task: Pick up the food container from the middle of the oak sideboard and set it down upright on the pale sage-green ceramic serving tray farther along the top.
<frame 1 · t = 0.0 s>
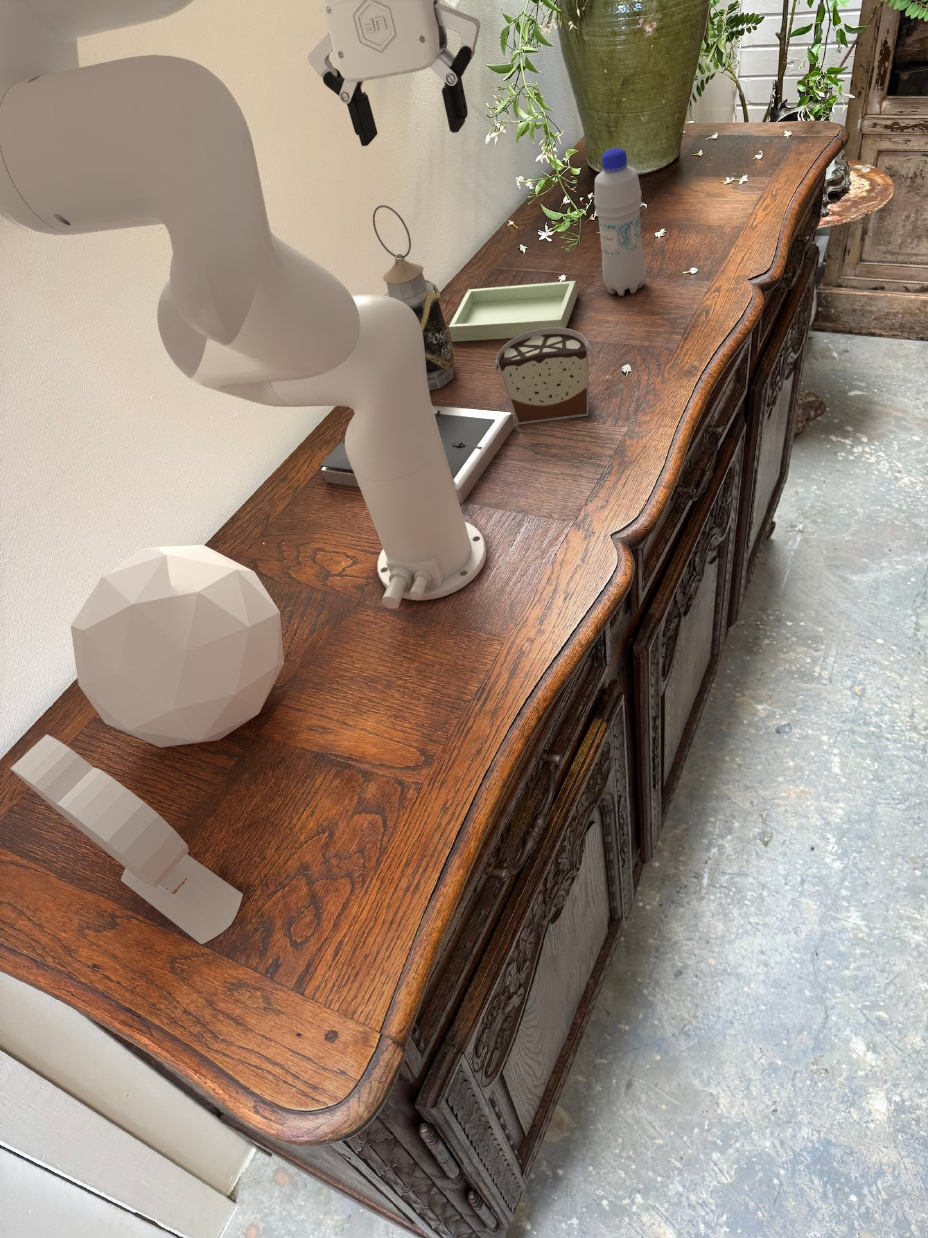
hand: (413, 134, 84), 37 cm above the sideboard, tool pointing down, fingers open, 9 cm apart
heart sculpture: (181, 888, 74), on the sideboard
tray: (515, 318, 130), on the sideboard
bottle: (625, 289, 129), on the sideboard
picture frame: (420, 455, 111), on the sideboard
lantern: (431, 380, 123), on the sideboard
ball: (223, 704, 88), on the sideboard
food container: (553, 407, 112), on the sideboard
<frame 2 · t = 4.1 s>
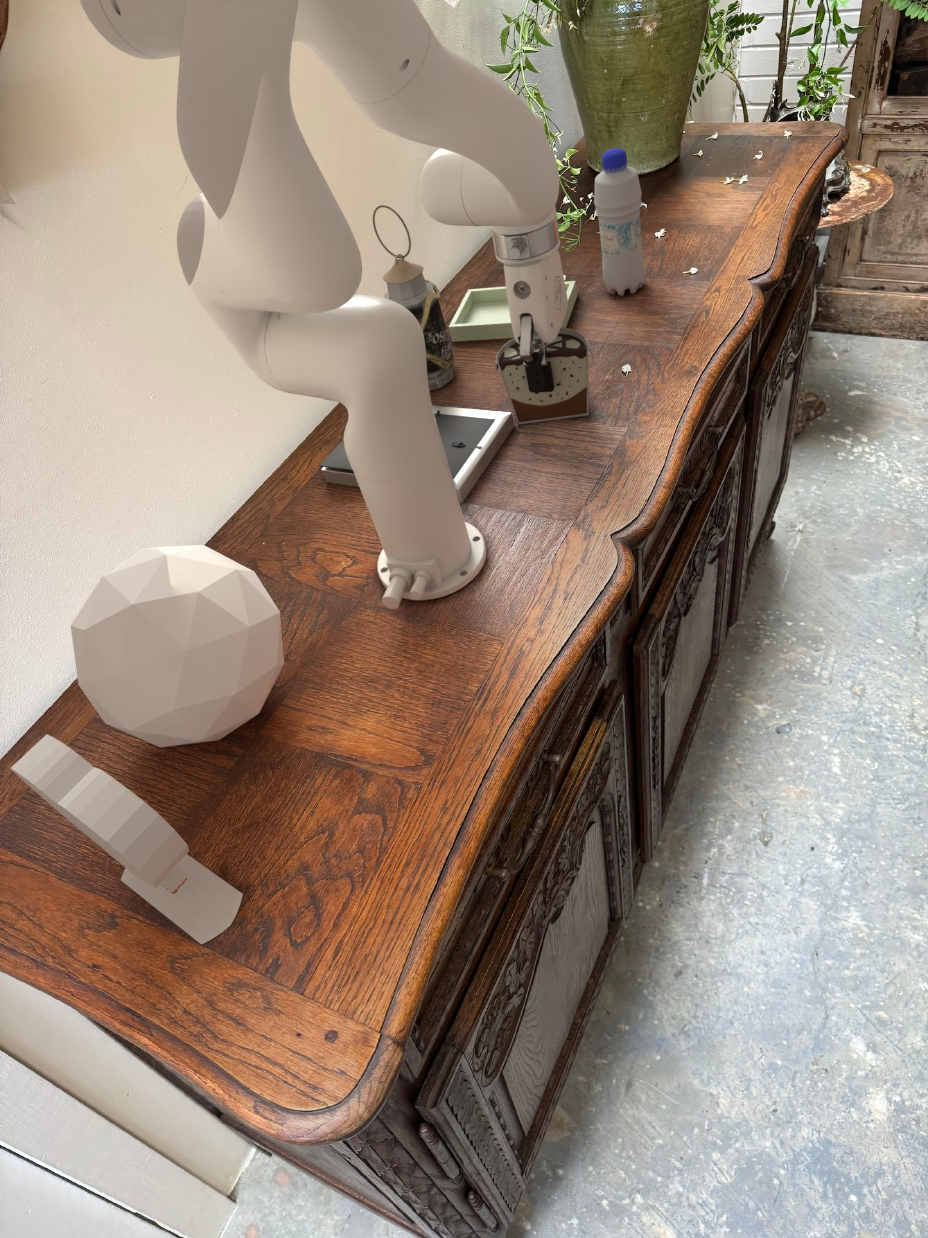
hand: (547, 373, 108), 5 cm above the sideboard, tool pointing down, fingers closed on food container, 6 cm apart
food container: (553, 407, 112), on the sideboard, touching gripper
everything else where it was.
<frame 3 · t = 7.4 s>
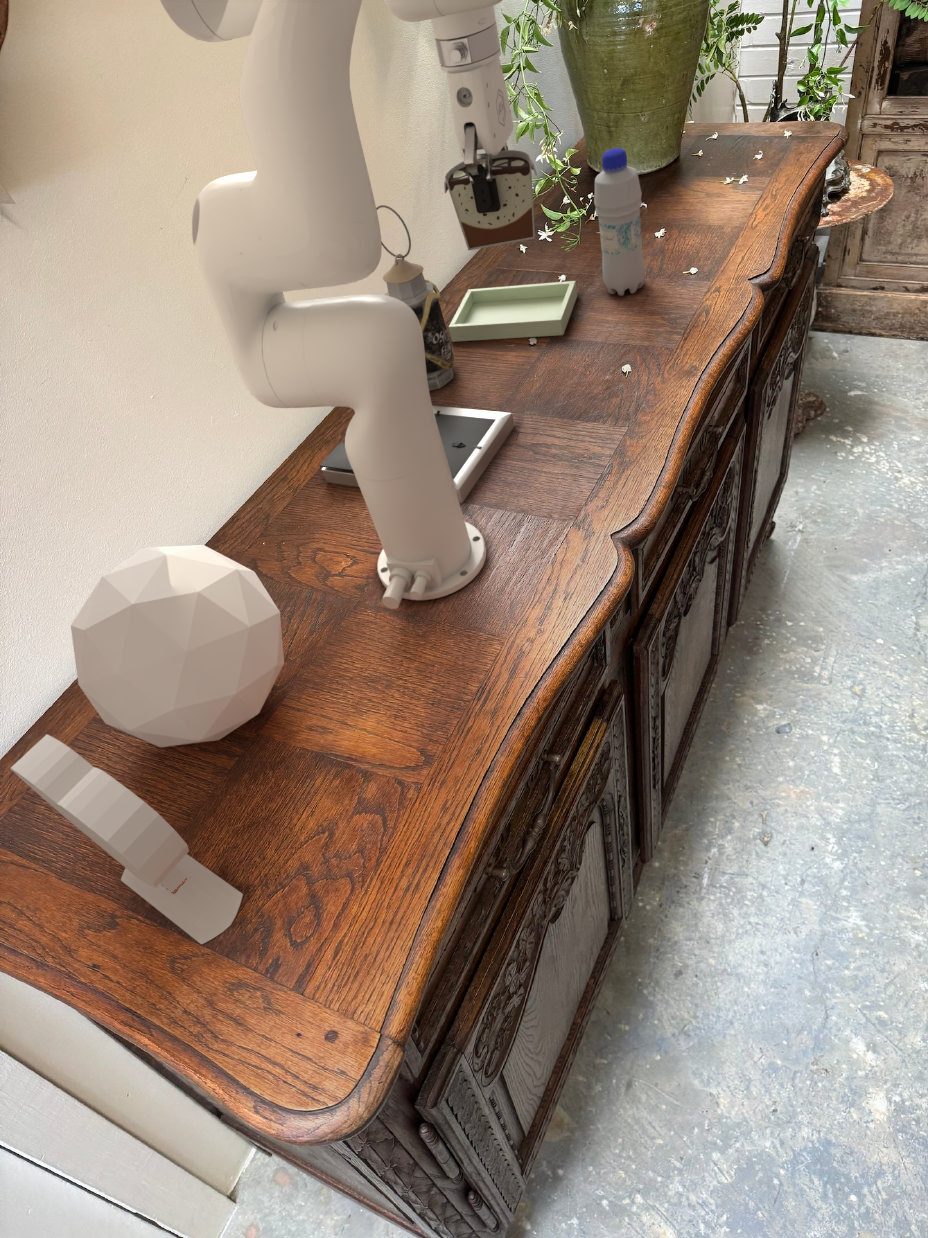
hand: (495, 198, 113), 19 cm above the sideboard, tool pointing down, fingers closed on food container, 6 cm apart
food container: (503, 236, 117), point 14 cm above the sideboard, touching gripper
everything else where it was.
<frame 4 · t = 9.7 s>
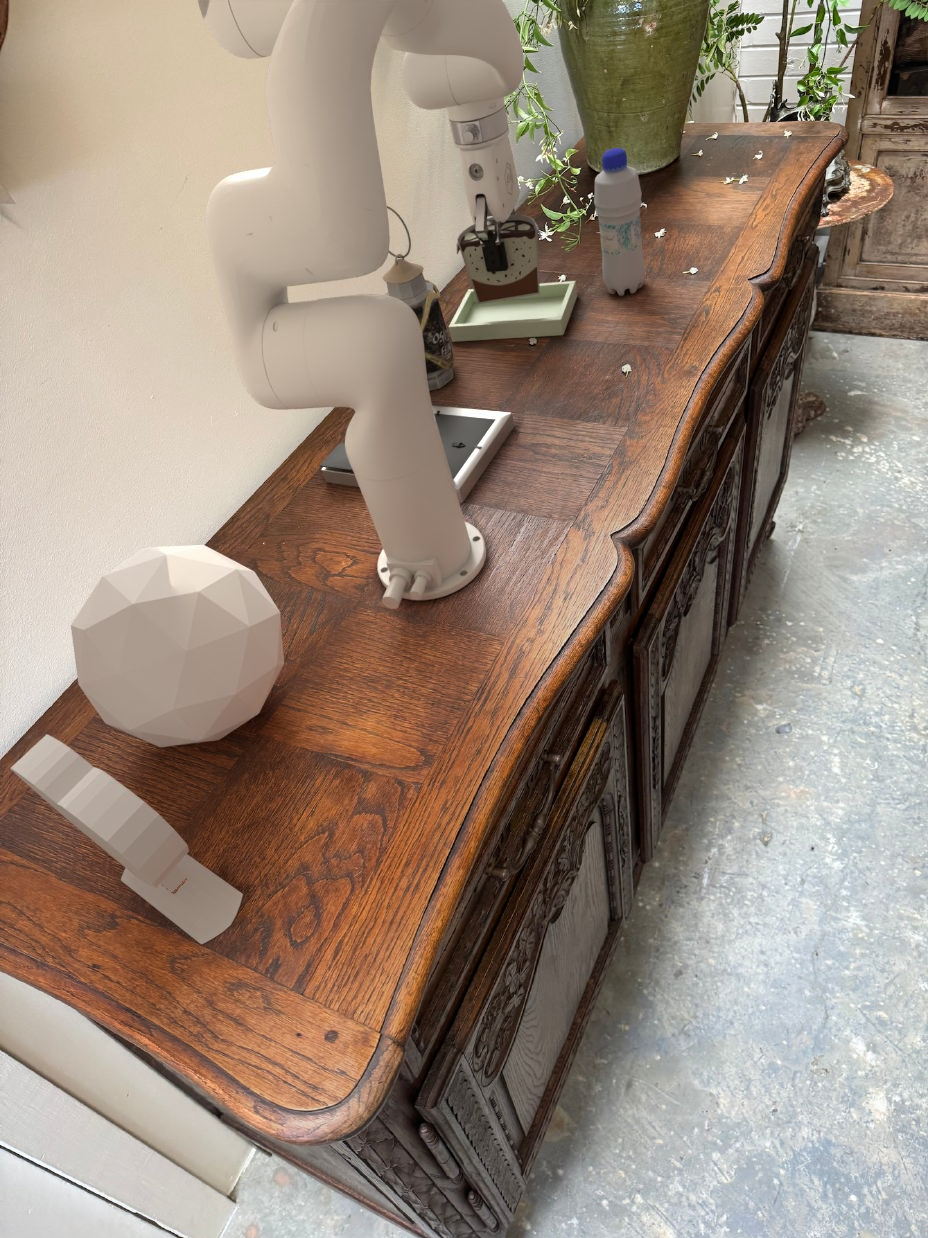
hand: (503, 257, 123), 10 cm above the sideboard, tool pointing down, fingers closed on food container, 6 cm apart
food container: (510, 290, 127), point 5 cm above the sideboard, touching gripper
everything else where it was.
when the fingers open (6 cm above the sideboard, at t = 11.3 s): food container stays where it is, resting on tray.
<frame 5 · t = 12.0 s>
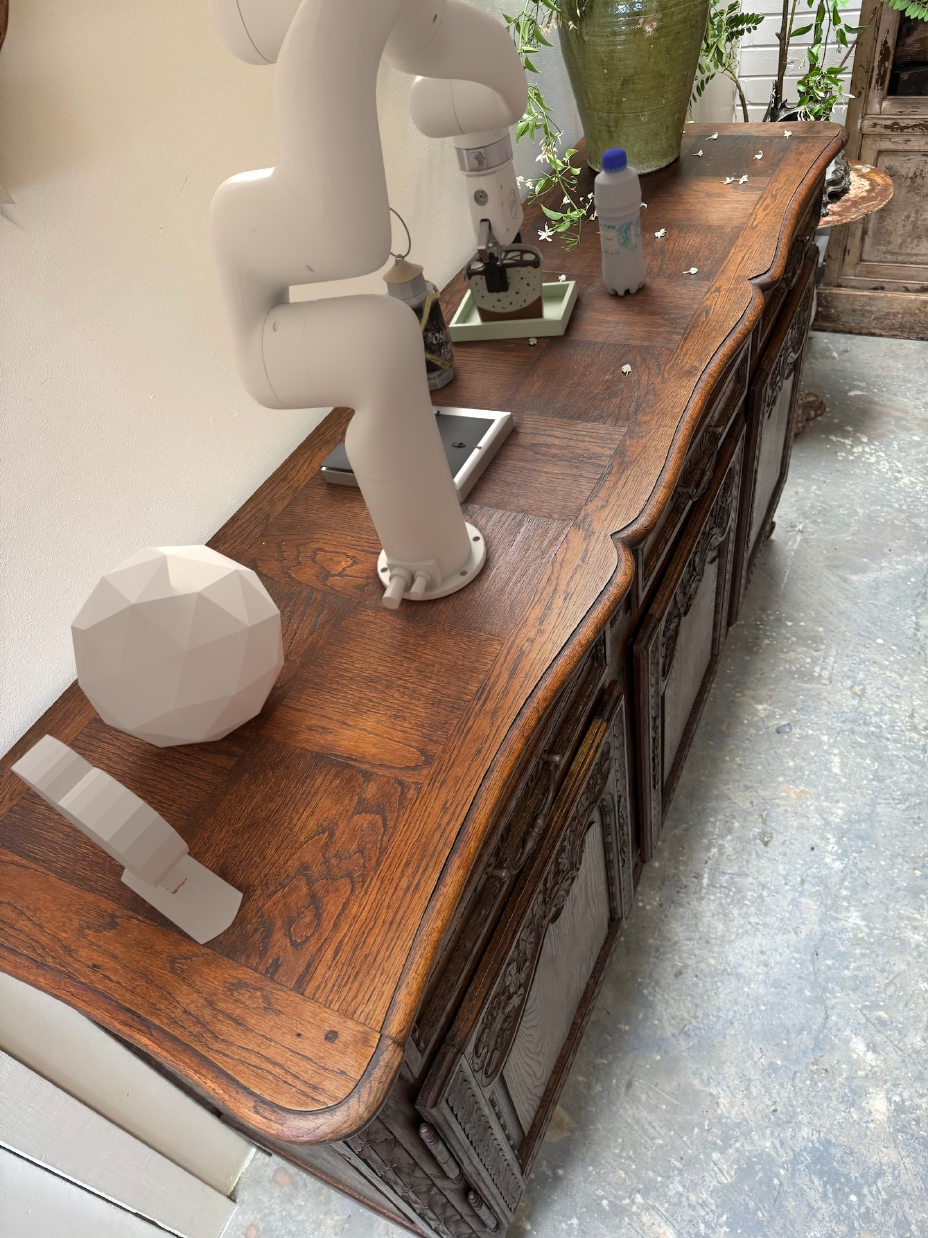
hand: (506, 275, 125), 7 cm above the sideboard, tool pointing down, fingers open, 9 cm apart
food container: (514, 316, 130), resting on tray
everything else where it was.
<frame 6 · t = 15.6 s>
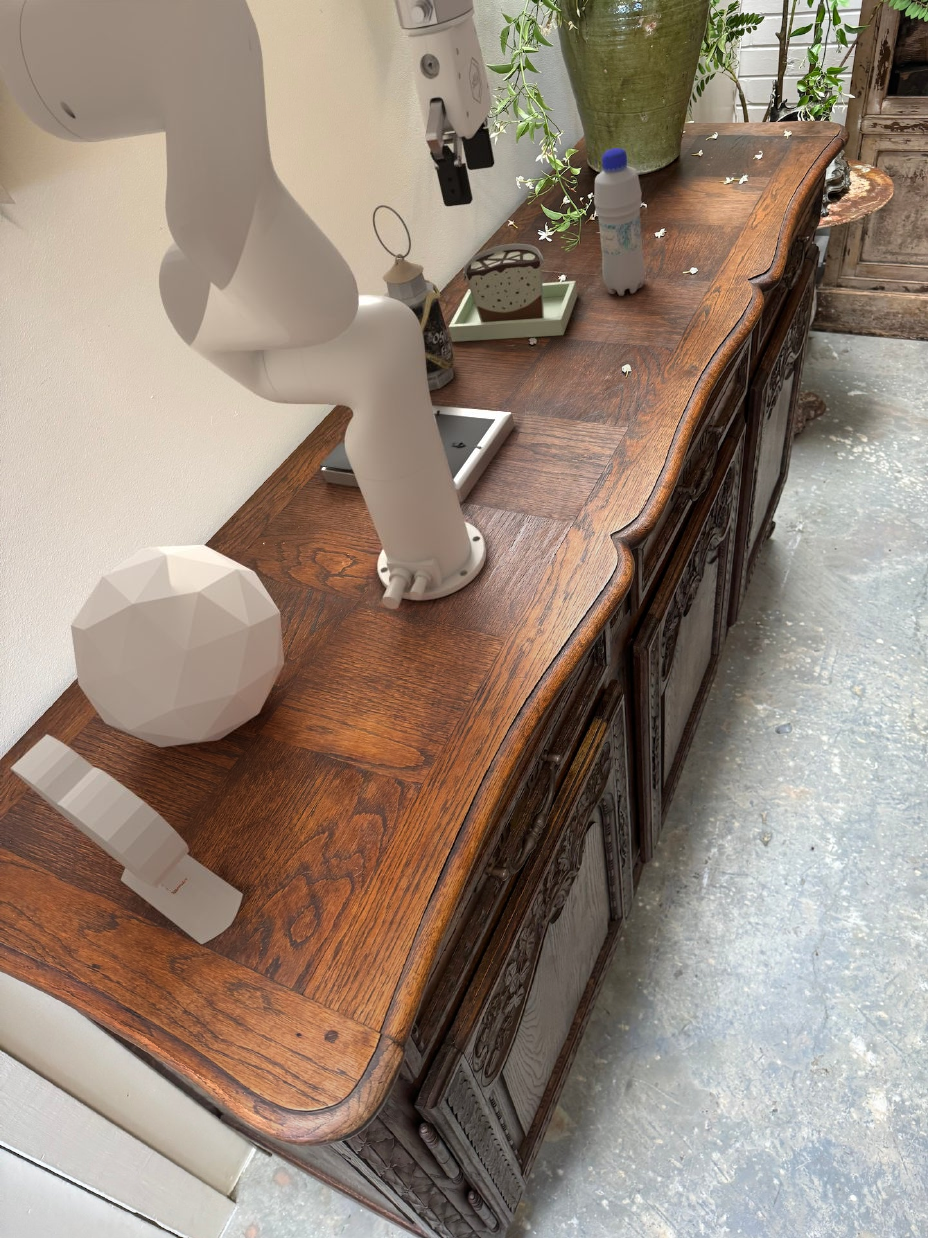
hand: (470, 185, 95), 28 cm above the sideboard, tool pointing down, fingers open, 9 cm apart
nothing on the sideboard moved.
at the end: food container 0.1 cm off-centre in the tray, point 0.3 cm above the tray's base; food container tilted 0°; the gripper is holding nothing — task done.
